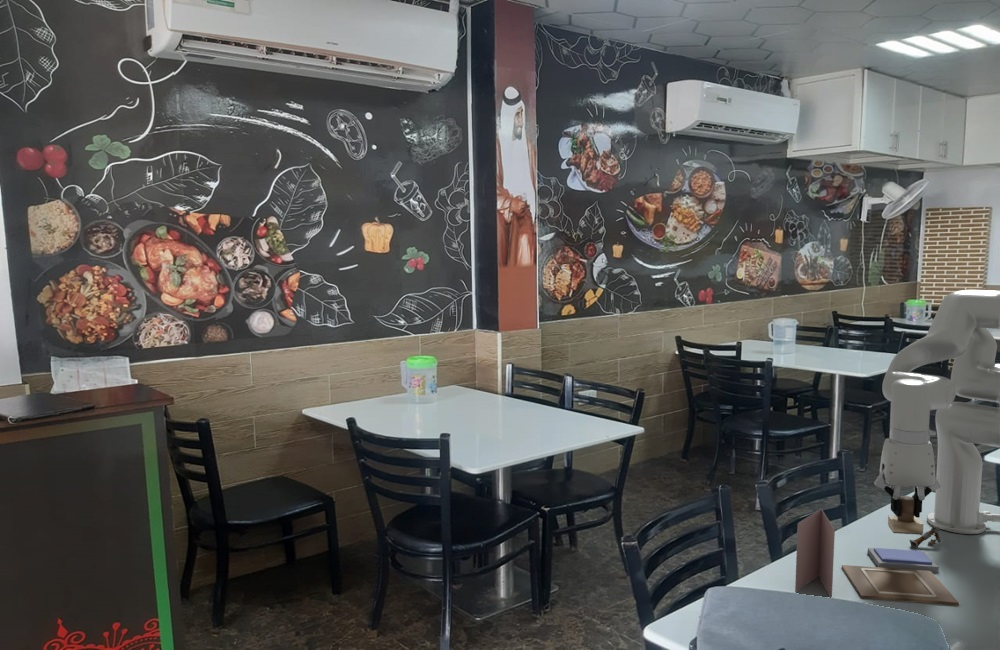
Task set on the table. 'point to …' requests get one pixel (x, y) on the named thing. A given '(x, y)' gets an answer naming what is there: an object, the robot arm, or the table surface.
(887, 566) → the ink pad
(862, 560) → the table surface
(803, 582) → the greeting card
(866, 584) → the marked board
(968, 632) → the table surface
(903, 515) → the stamp
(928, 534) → the wooden post with brackets
